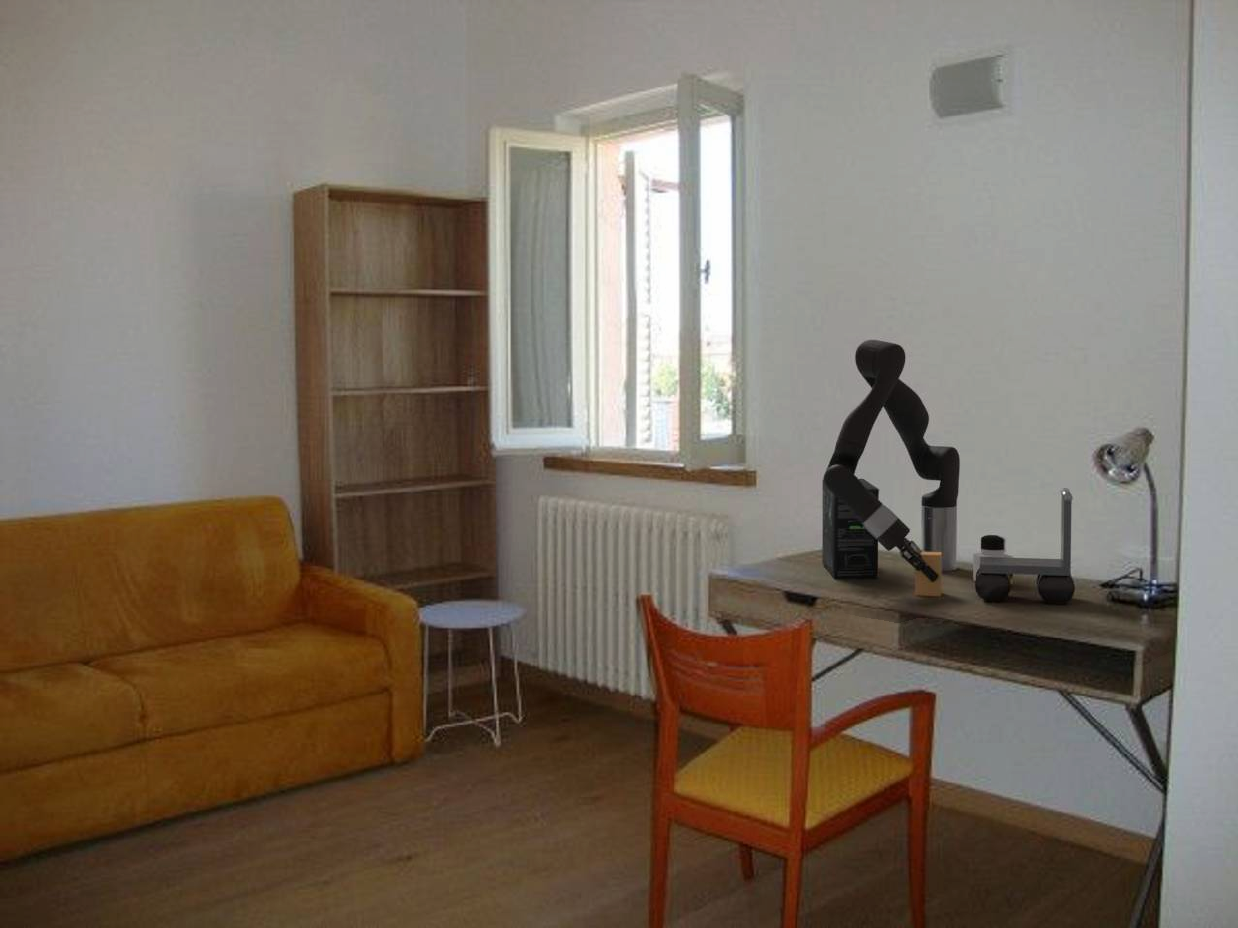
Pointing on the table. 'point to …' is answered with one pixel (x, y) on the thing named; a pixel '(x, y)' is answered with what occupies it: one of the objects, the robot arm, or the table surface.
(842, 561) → the headset box
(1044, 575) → the trolley
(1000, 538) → the medicine bottle
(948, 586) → the table surface
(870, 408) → the robot arm
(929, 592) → the light orange block
